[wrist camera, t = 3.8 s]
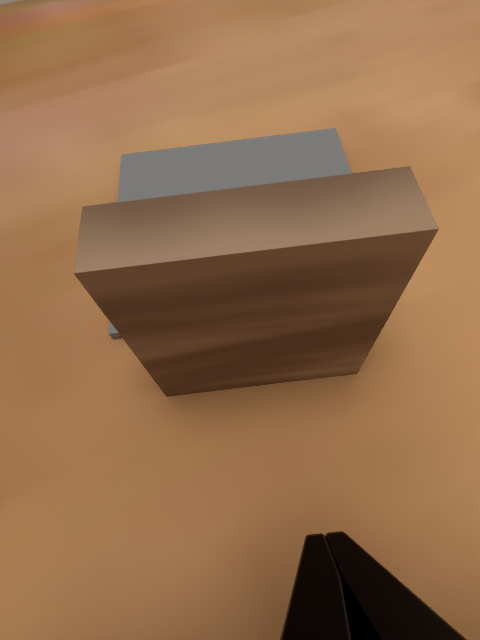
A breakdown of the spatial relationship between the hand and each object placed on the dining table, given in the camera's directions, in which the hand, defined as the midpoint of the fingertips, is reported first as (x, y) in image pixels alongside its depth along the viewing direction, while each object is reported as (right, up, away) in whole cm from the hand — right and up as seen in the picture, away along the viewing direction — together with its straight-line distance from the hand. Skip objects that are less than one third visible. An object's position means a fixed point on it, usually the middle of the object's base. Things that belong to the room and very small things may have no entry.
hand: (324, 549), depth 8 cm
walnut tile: (-1, +3, +12) cm, 13 cm away
